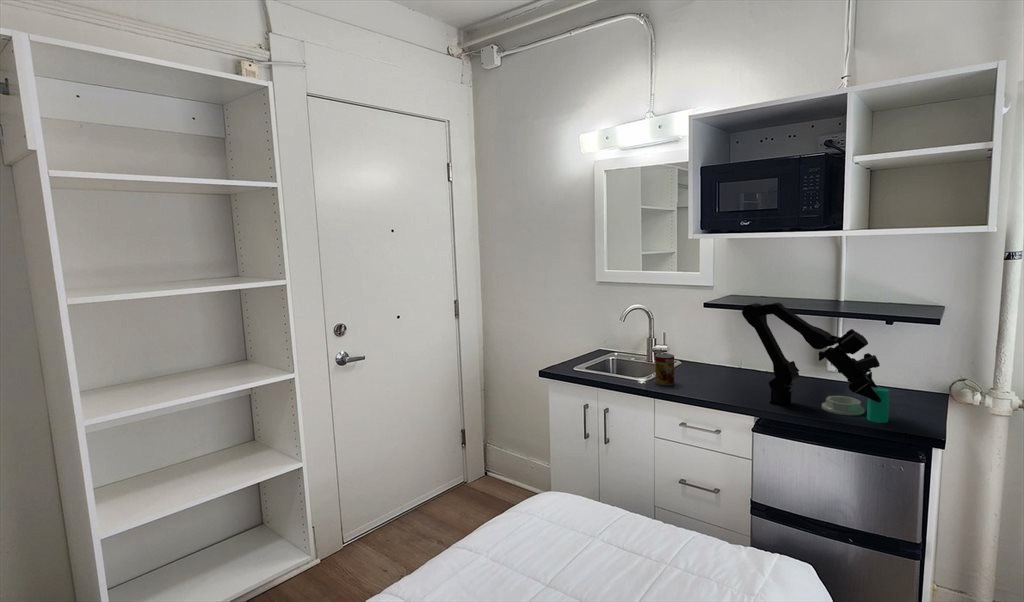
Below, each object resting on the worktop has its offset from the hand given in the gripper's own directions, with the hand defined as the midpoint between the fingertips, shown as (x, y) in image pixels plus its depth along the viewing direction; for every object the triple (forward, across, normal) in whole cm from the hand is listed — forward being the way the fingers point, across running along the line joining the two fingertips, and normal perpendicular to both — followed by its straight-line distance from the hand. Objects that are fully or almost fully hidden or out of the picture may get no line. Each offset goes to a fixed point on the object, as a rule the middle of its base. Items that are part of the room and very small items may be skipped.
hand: (880, 398), depth 178 cm
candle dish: (-2, +6, +13) cm, 15 cm away
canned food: (-49, +12, +59) cm, 78 cm away
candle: (+5, 0, +6) cm, 8 cm away
